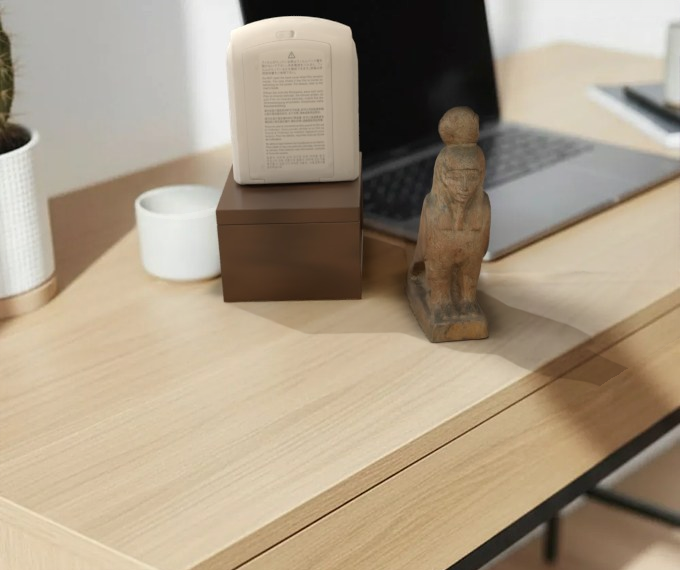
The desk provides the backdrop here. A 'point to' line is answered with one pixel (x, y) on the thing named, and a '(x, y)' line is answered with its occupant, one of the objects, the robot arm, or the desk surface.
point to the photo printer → (293, 101)
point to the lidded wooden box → (291, 240)
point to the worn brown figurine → (452, 236)
